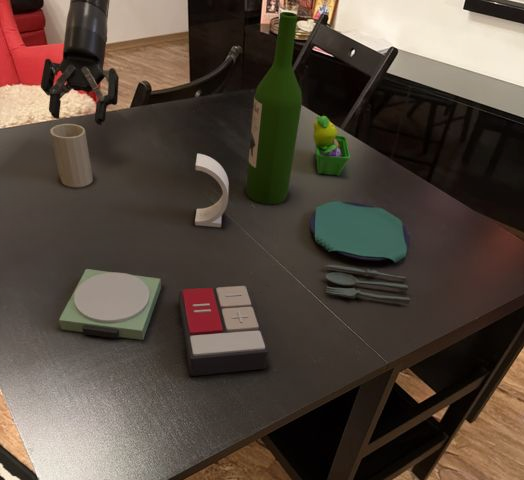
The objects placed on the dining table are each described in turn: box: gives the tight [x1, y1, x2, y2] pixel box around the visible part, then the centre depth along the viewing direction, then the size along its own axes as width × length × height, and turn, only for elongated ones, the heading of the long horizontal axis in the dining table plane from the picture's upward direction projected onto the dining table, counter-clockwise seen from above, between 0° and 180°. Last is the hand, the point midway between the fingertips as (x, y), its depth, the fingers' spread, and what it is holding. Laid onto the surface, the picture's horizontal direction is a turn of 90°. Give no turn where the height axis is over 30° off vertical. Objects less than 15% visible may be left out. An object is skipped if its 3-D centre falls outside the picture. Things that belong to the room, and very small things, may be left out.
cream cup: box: [49, 123, 94, 188], centre depth 95 cm, size 6×6×10 cm
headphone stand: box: [194, 152, 230, 228], centre depth 89 cm, size 5×6×12 cm
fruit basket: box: [312, 115, 351, 176], centre depth 111 cm, size 11×9×11 cm
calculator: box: [178, 285, 270, 377], centre depth 71 cm, size 11×4×15 cm
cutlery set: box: [309, 200, 411, 305], centre depth 91 cm, size 20×30×2 cm, turn 174°
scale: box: [58, 268, 162, 341], centre depth 73 cm, size 12×13×3 cm
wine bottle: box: [245, 11, 303, 205], centre depth 91 cm, size 9×9×32 cm
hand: (76, 120), depth 94 cm, fingers open, 8 cm apart
